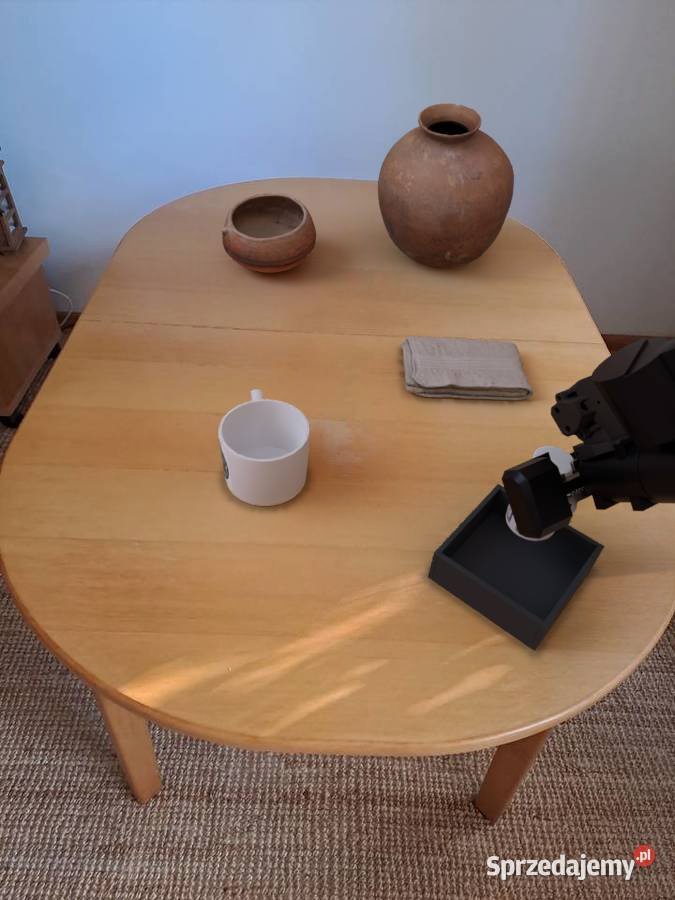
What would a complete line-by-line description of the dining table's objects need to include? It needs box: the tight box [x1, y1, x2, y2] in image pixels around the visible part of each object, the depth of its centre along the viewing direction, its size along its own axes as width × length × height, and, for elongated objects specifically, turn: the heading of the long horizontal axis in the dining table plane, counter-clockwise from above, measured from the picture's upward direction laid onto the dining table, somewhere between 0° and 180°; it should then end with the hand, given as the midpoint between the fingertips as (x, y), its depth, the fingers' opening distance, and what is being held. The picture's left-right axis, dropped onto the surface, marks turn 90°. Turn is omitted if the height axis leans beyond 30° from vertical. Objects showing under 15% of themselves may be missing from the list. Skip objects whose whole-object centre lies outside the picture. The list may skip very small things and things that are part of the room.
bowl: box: [221, 192, 317, 273], centre depth 114 cm, size 16×16×10 cm
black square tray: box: [427, 483, 605, 652], centre depth 72 cm, size 13×13×4 cm
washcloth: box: [400, 335, 534, 401], centre depth 97 cm, size 12×18×3 cm, turn 91°
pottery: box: [377, 103, 515, 267], centre depth 114 cm, size 23×23×25 cm
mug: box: [217, 388, 311, 507], centre depth 80 cm, size 13×10×8 cm
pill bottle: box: [506, 445, 574, 541], centre depth 68 cm, size 5×5×10 cm
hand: (536, 472), depth 68 cm, fingers closed on pill bottle, 5 cm apart
